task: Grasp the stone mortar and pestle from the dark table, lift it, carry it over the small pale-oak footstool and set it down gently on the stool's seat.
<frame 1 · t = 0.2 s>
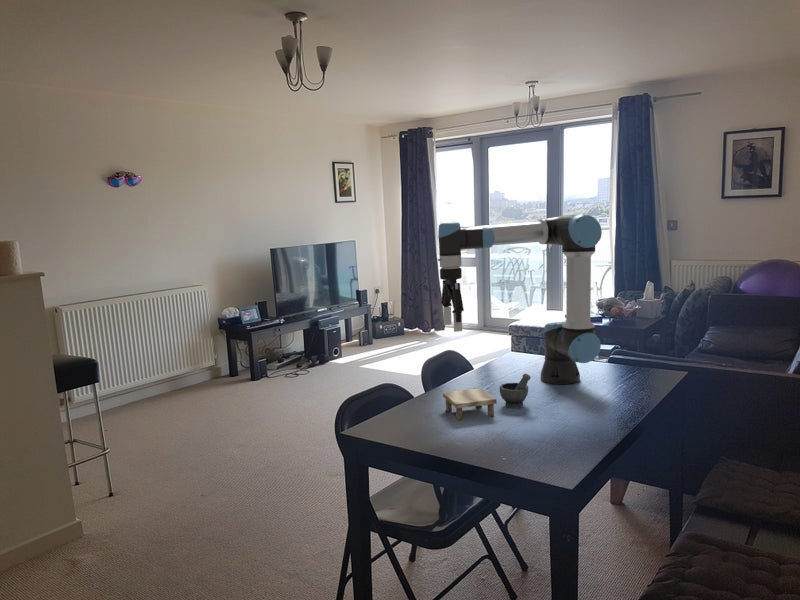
hand: (452, 328, 209), 27 cm above the table, fingers open, 13 cm apart
mortar and pestle: (516, 406, 207), on the table
oak footstool: (469, 412, 202), on the table
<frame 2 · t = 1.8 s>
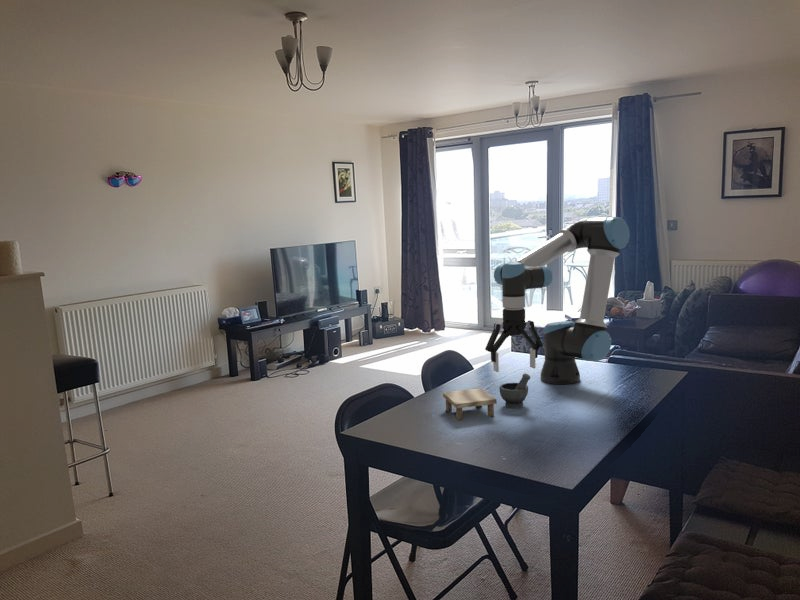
hand: (514, 369, 205), 13 cm above the table, fingers open, 13 cm apart
nothing on the table moved.
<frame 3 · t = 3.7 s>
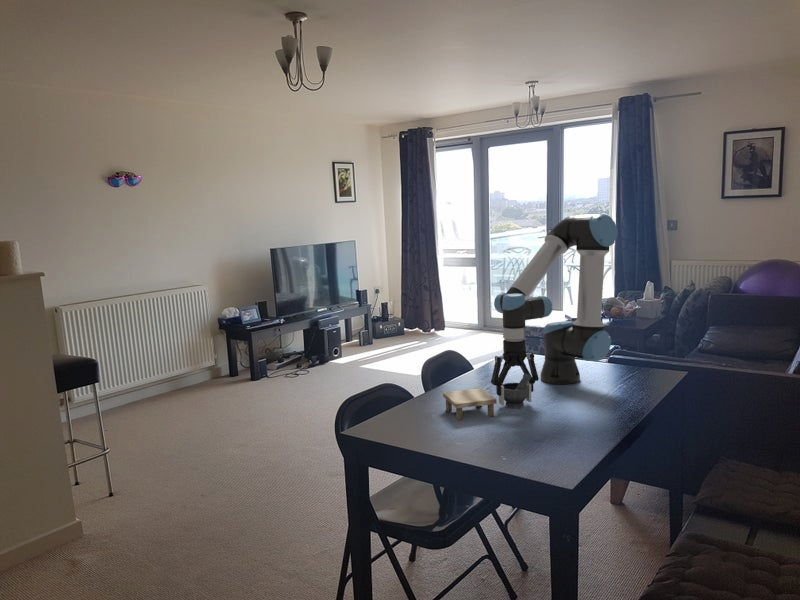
hand: (515, 402, 207), 1 cm above the table, fingers closed on mortar and pestle, 9 cm apart
mortar and pestle: (516, 406, 207), on the table, touching gripper
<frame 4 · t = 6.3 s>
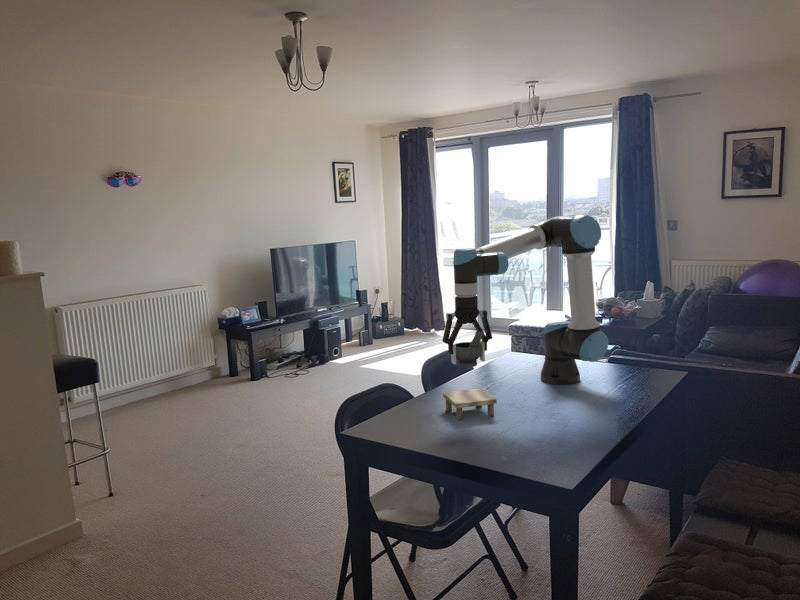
hand: (468, 361, 200), 18 cm above the table, fingers closed on mortar and pestle, 9 cm apart
mortar and pestle: (469, 365, 200), point 16 cm above the table, touching gripper
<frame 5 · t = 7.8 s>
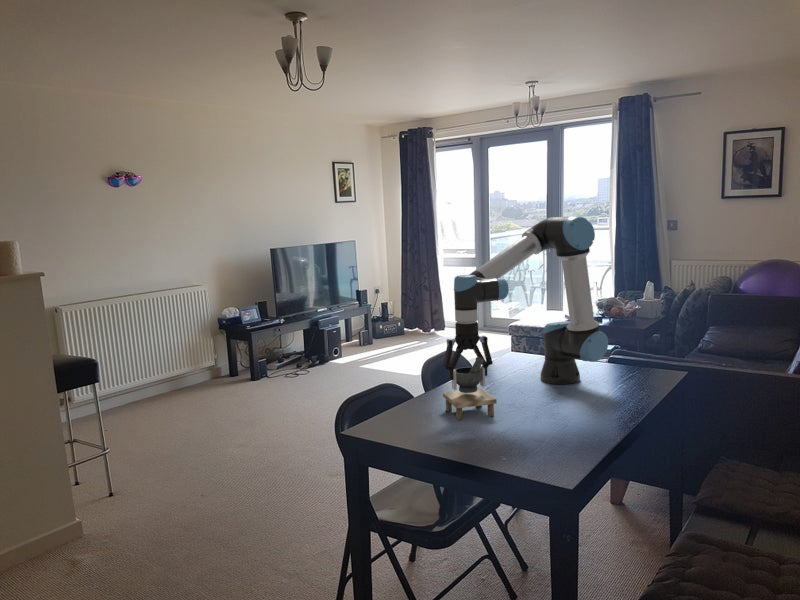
hand: (468, 387, 201), 9 cm above the table, fingers closed on mortar and pestle, 9 cm apart
mortar and pestle: (470, 391, 201), point 8 cm above the table, touching gripper
when the fingers open (8 cm above the table, at t = 8.9 s): mortar and pestle stays where it is, resting on oak footstool.
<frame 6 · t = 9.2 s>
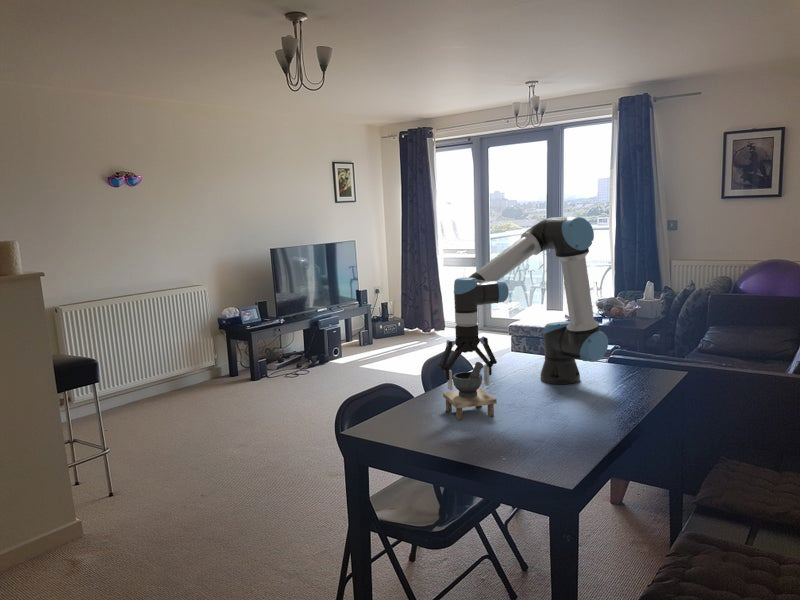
hand: (468, 387, 201), 9 cm above the table, fingers open, 12 cm apart
mortar and pestle: (469, 396, 201), point 6 cm above the table, touching oak footstool
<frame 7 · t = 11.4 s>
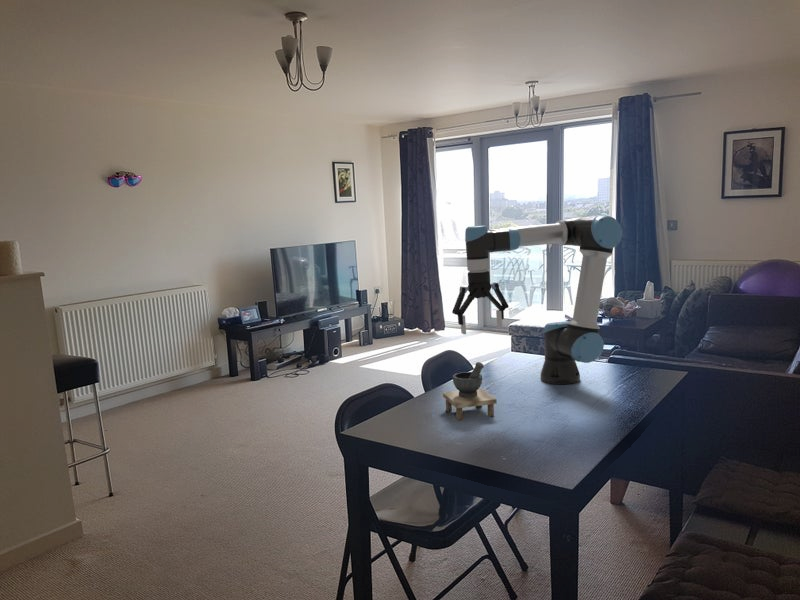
hand: (481, 331, 209), 26 cm above the table, fingers open, 13 cm apart
nothing on the table moved.
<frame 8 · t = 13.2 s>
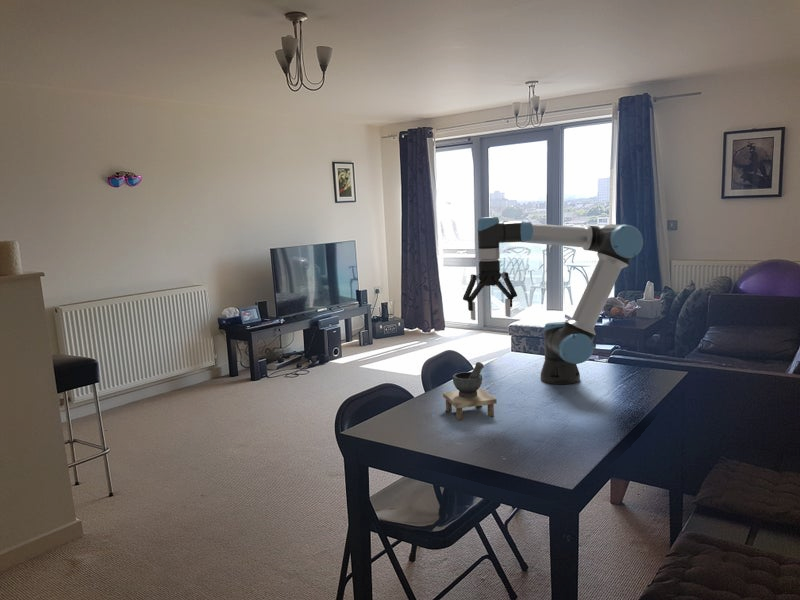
hand: (490, 318, 218), 29 cm above the table, fingers open, 13 cm apart
nothing on the table moved.
at the end: mortar and pestle inside the target area on the oak footstool (0.3 cm from its centre), point 5.8 cm above the oak footstool's base; mortar and pestle tilted 0°; the gripper is holding nothing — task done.
